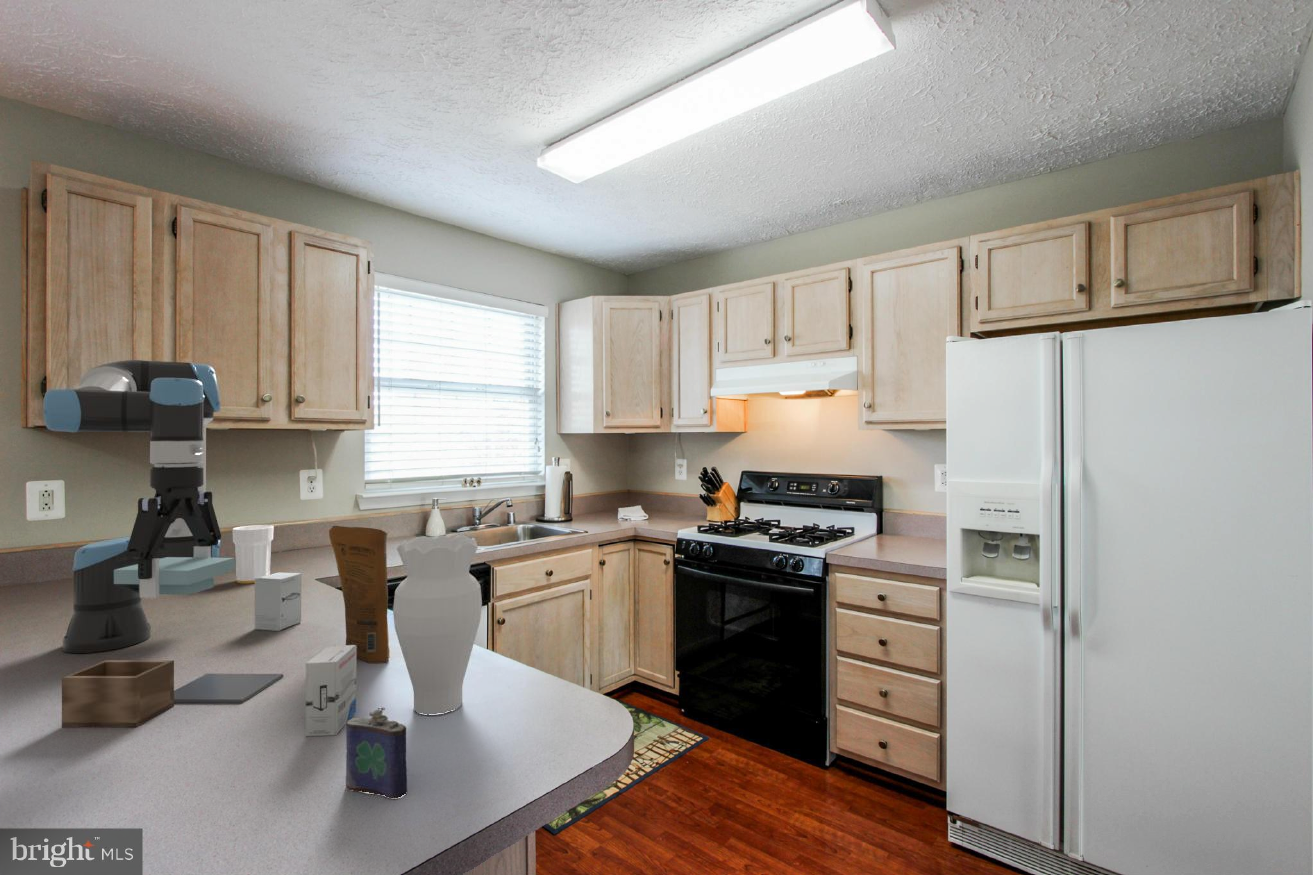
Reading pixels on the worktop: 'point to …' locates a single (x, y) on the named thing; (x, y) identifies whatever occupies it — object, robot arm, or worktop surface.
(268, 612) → the supplement box
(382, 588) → the pancake mix bag
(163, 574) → the lid
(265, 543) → the cup
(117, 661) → the crate
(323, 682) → the ink box
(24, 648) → the worktop surface
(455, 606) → the vase
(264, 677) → the mat
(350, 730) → the flask
